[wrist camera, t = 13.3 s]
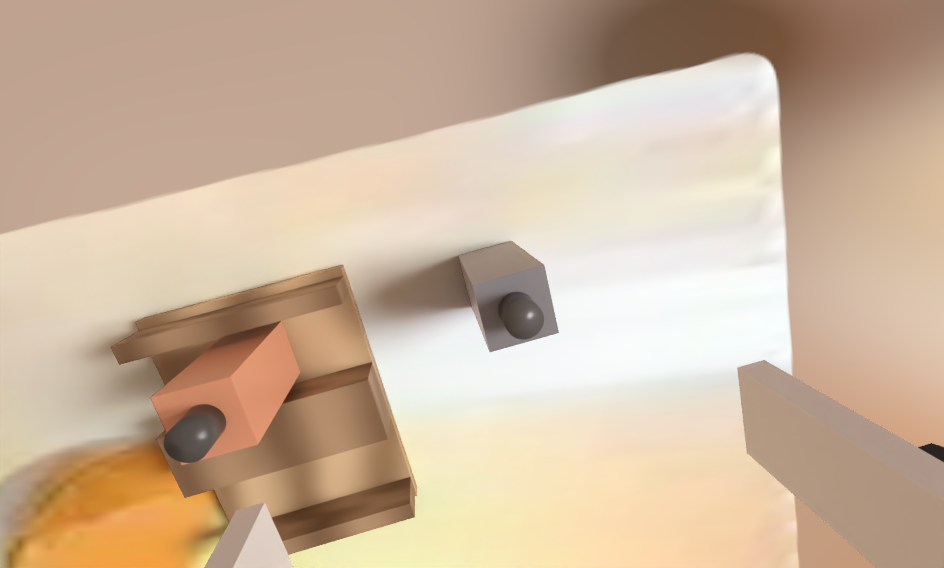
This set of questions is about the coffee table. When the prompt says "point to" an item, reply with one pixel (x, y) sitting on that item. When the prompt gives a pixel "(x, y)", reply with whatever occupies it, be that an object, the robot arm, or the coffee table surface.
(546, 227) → the coffee table surface
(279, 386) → the terracotta plug
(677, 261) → the coffee table surface
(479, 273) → the charcoal plug
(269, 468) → the wooden ridged block
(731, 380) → the coffee table surface
